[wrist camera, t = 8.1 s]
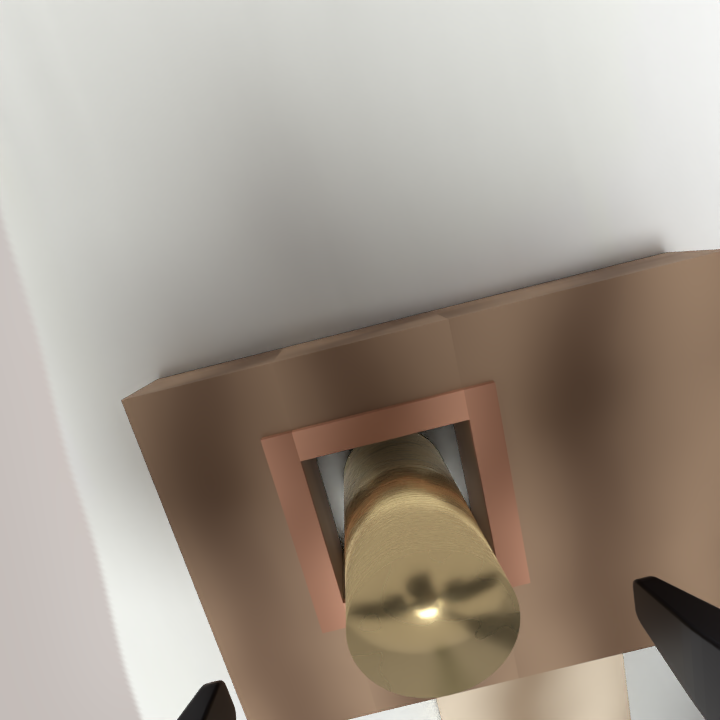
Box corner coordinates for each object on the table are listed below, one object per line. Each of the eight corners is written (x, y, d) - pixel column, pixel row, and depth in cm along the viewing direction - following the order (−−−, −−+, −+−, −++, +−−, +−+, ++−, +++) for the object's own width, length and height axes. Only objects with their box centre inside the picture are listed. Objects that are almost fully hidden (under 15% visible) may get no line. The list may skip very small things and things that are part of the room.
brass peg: (433, 418, 16) (506, 531, 9) (452, 508, 16) (531, 675, 10) (332, 442, 16) (326, 574, 9) (356, 531, 16) (368, 714, 10)
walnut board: (665, 252, 15) (737, 248, 12) (700, 729, 20) (757, 801, 17) (157, 379, 15) (117, 402, 12) (320, 820, 20) (317, 905, 17)
